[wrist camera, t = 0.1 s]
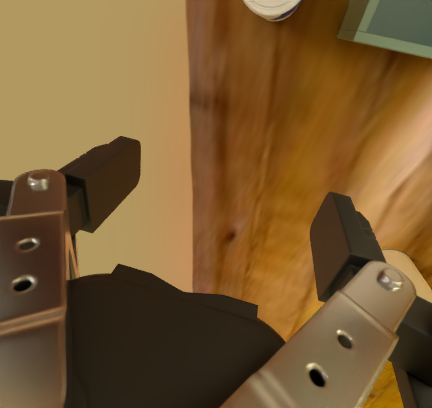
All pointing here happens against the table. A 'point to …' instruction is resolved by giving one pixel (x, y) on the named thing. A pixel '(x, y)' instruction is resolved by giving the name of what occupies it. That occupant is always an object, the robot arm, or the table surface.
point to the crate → (390, 25)
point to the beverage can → (273, 8)
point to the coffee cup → (409, 272)
